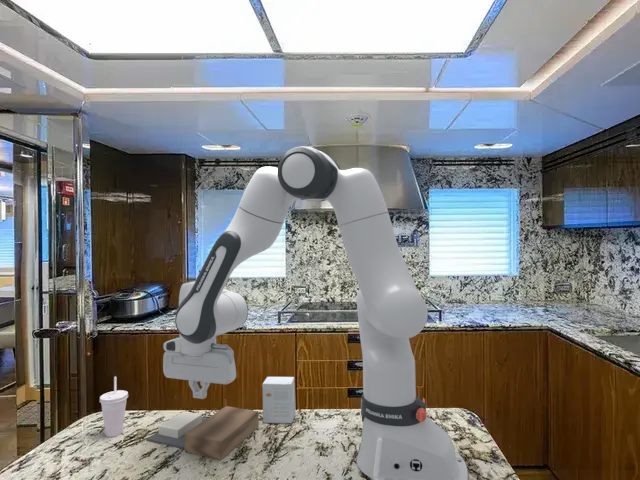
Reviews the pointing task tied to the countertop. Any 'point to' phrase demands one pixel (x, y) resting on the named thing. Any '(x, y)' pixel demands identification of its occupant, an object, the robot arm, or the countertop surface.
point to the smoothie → (114, 410)
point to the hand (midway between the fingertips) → (199, 397)
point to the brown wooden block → (221, 432)
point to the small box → (278, 399)
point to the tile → (180, 424)
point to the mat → (171, 439)
